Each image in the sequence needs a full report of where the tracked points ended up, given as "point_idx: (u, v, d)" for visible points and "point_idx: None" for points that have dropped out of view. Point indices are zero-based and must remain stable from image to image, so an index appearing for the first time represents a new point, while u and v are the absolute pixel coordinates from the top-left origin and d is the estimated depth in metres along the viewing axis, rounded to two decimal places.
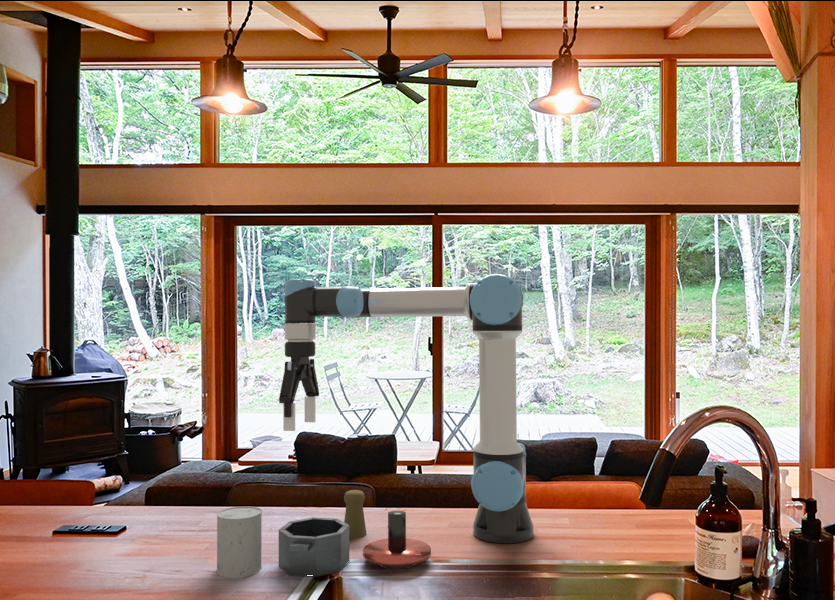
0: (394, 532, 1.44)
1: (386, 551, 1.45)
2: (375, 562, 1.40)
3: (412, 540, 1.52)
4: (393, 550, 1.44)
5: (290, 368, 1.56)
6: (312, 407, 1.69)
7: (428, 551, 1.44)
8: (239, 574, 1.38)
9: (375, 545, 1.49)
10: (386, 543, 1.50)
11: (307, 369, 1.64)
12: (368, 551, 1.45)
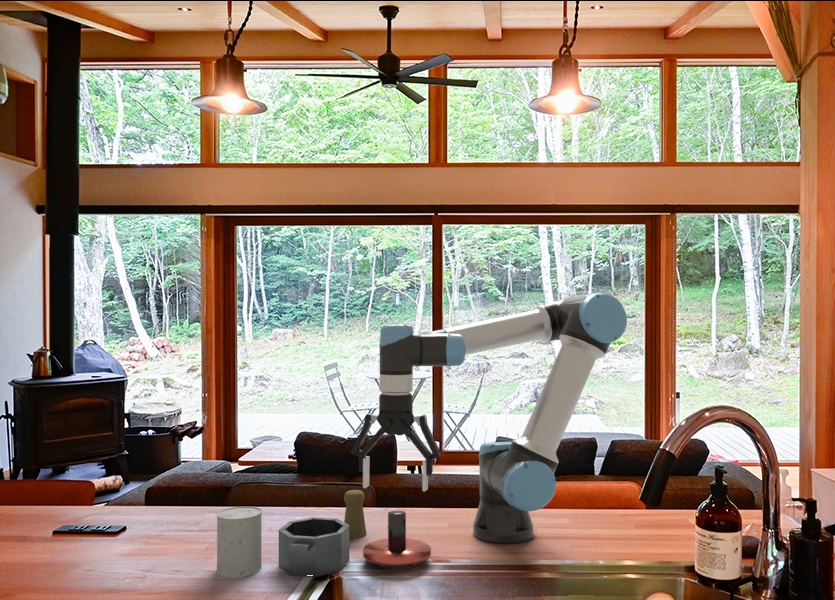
0: (394, 532, 1.44)
1: (386, 551, 1.45)
2: (375, 562, 1.40)
3: (412, 540, 1.52)
4: (393, 550, 1.44)
5: None
6: None
7: (428, 551, 1.44)
8: (239, 574, 1.38)
9: (375, 545, 1.49)
10: (386, 543, 1.50)
11: None
12: (368, 551, 1.45)
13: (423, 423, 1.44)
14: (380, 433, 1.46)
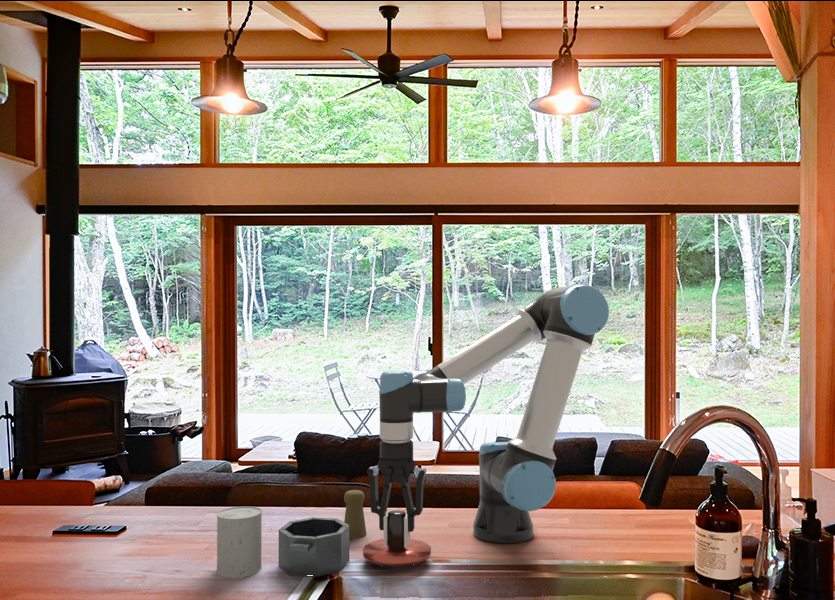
0: (394, 532, 1.44)
1: (386, 551, 1.45)
2: (375, 562, 1.40)
3: (412, 540, 1.52)
4: (393, 550, 1.44)
5: None
6: None
7: (428, 551, 1.44)
8: (239, 574, 1.38)
9: (375, 545, 1.49)
10: None
11: None
12: (367, 551, 1.45)
13: (421, 478, 1.44)
14: (387, 484, 1.45)
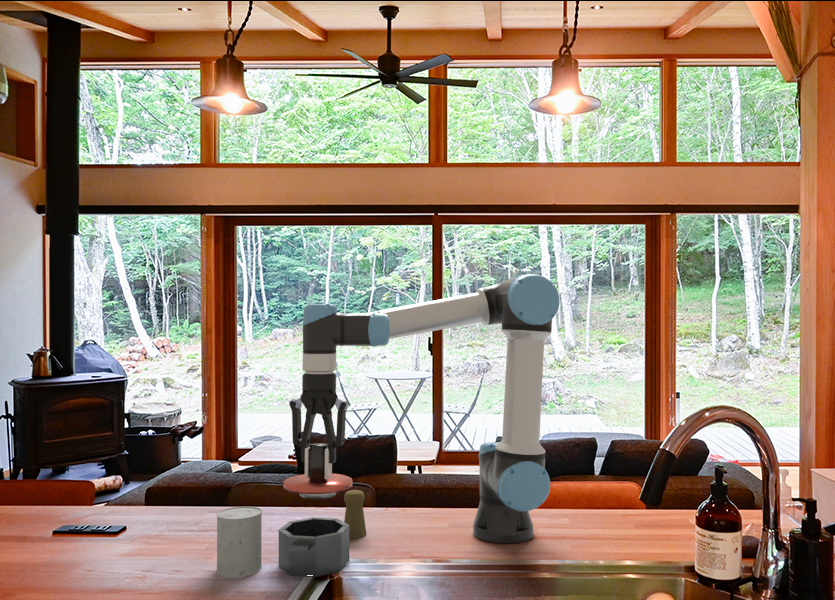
0: (314, 463, 1.44)
1: (307, 482, 1.45)
2: (293, 490, 1.40)
3: (336, 474, 1.52)
4: (313, 481, 1.44)
5: None
6: None
7: (348, 482, 1.44)
8: (239, 574, 1.38)
9: (298, 477, 1.49)
10: None
11: None
12: (288, 482, 1.45)
13: (342, 409, 1.44)
14: (309, 415, 1.45)
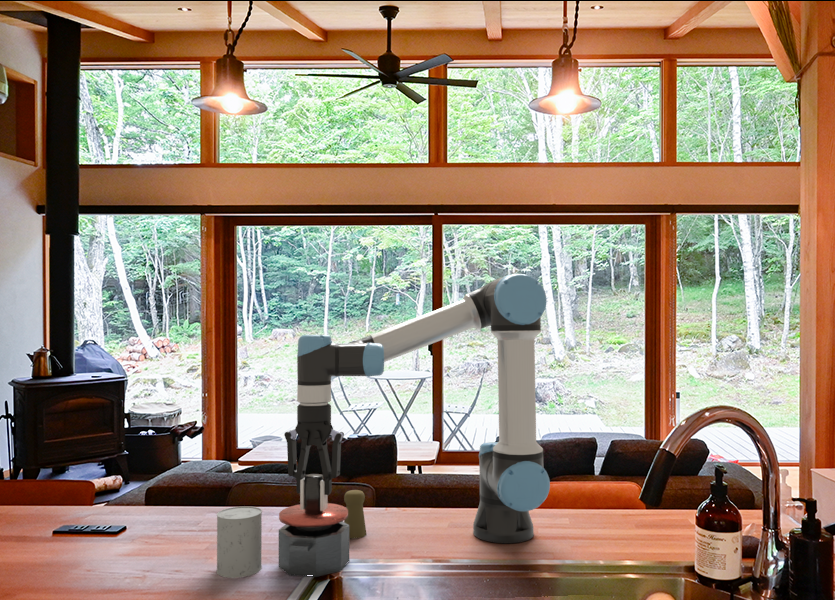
0: (310, 494, 1.44)
1: (302, 514, 1.44)
2: (288, 523, 1.40)
3: (332, 504, 1.52)
4: (309, 512, 1.44)
5: None
6: None
7: (344, 514, 1.44)
8: (239, 574, 1.38)
9: (294, 508, 1.48)
10: None
11: None
12: (284, 513, 1.44)
13: (337, 441, 1.44)
14: (304, 447, 1.45)
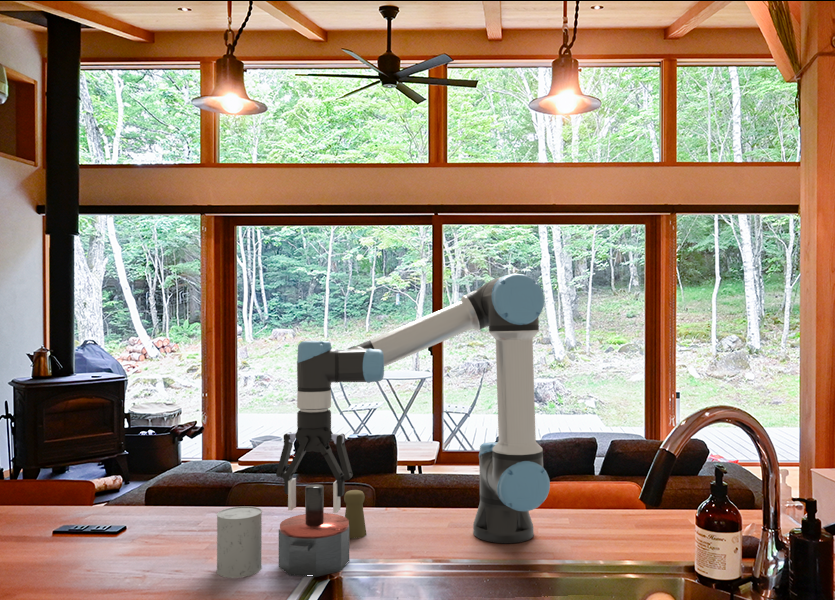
0: (310, 505, 1.44)
1: (303, 524, 1.44)
2: (289, 535, 1.40)
3: (333, 515, 1.52)
4: (309, 523, 1.44)
5: None
6: None
7: (345, 524, 1.44)
8: (239, 574, 1.38)
9: (294, 519, 1.48)
10: None
11: None
12: (284, 524, 1.44)
13: (339, 443, 1.44)
14: (300, 451, 1.45)
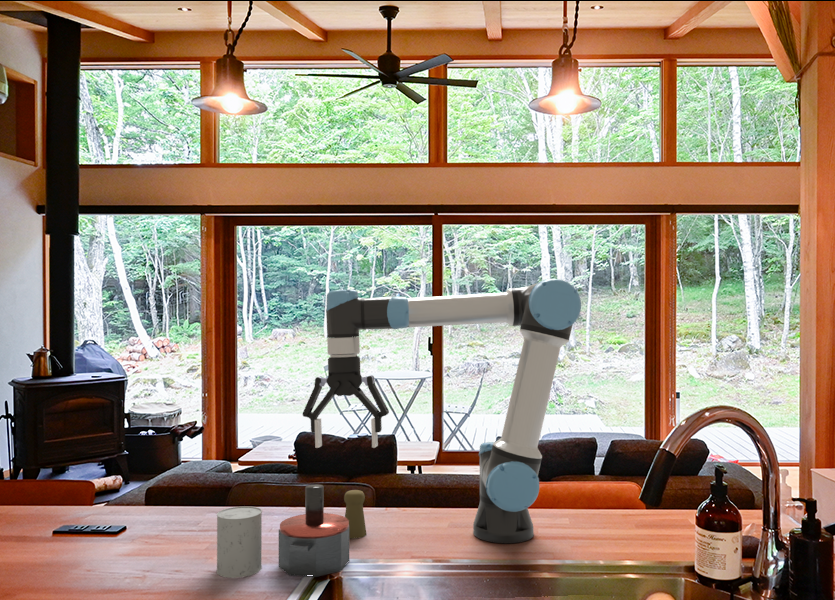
0: (310, 505, 1.44)
1: (303, 524, 1.44)
2: (289, 535, 1.40)
3: (333, 515, 1.52)
4: (309, 523, 1.44)
5: None
6: None
7: (345, 524, 1.44)
8: (239, 574, 1.38)
9: (294, 519, 1.48)
10: None
11: None
12: (284, 524, 1.44)
13: (370, 383, 1.51)
14: (330, 394, 1.52)
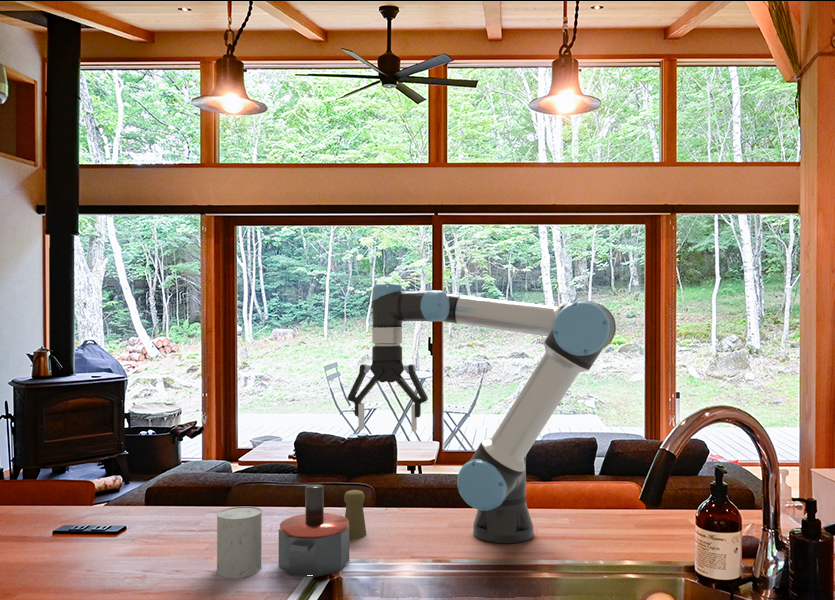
0: (310, 505, 1.44)
1: (303, 524, 1.44)
2: (289, 535, 1.40)
3: (333, 515, 1.52)
4: (309, 523, 1.44)
5: None
6: None
7: (345, 524, 1.44)
8: (239, 574, 1.38)
9: (294, 519, 1.48)
10: None
11: None
12: (284, 524, 1.44)
13: (411, 371, 1.62)
14: (373, 381, 1.63)
